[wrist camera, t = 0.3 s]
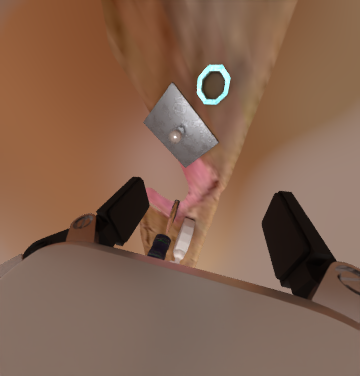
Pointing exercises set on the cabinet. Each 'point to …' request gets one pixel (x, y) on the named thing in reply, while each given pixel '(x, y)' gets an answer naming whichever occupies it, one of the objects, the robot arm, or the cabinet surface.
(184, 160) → the metal plate with knob
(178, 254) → the soap bottle
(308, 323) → the robot arm
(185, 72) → the cabinet surface
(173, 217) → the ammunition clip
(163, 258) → the storage jar
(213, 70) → the ring
